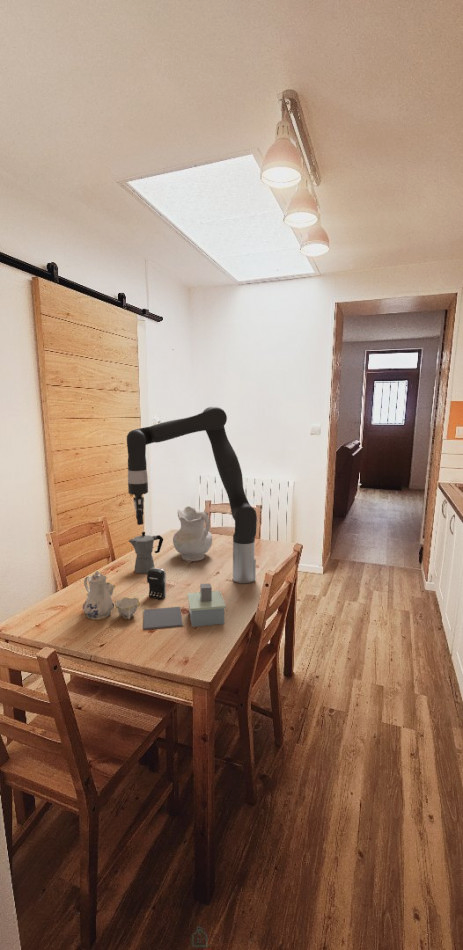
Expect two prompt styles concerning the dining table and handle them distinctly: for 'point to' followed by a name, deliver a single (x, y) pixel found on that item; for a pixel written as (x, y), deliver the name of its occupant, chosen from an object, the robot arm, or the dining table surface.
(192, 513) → the ceramic pitcher
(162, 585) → the black battery charger
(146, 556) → the coffeepot
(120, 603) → the chinaware
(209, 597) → the cover
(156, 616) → the mat
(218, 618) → the square storage bin
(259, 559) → the dining table surface
